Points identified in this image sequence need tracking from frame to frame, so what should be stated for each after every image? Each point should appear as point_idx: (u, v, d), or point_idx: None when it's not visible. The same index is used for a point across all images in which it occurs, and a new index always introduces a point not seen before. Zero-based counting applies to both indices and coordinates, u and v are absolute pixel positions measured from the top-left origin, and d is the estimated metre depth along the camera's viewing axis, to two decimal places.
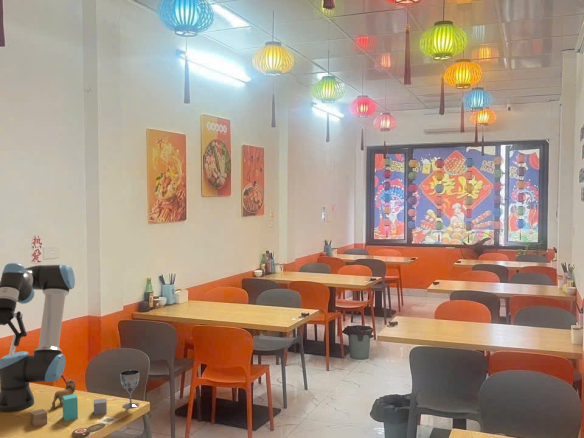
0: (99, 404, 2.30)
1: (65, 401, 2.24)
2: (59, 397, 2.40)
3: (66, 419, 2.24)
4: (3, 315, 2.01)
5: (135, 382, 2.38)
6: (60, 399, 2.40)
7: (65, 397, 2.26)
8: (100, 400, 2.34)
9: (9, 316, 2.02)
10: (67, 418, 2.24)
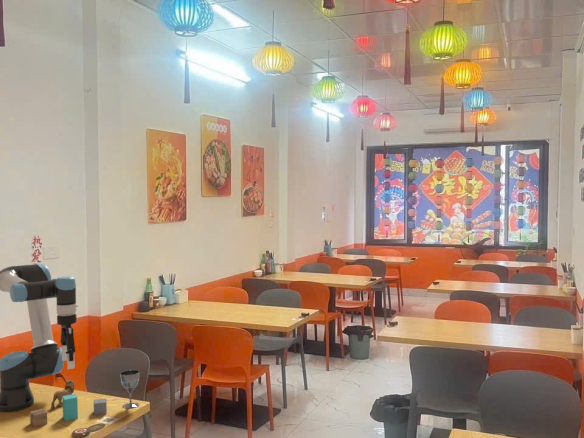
0: (99, 404, 2.30)
1: (65, 401, 2.24)
2: (58, 397, 2.39)
3: (66, 419, 2.24)
4: None
5: (135, 382, 2.38)
6: (59, 399, 2.40)
7: (65, 397, 2.26)
8: (100, 400, 2.34)
9: None
10: (67, 418, 2.24)
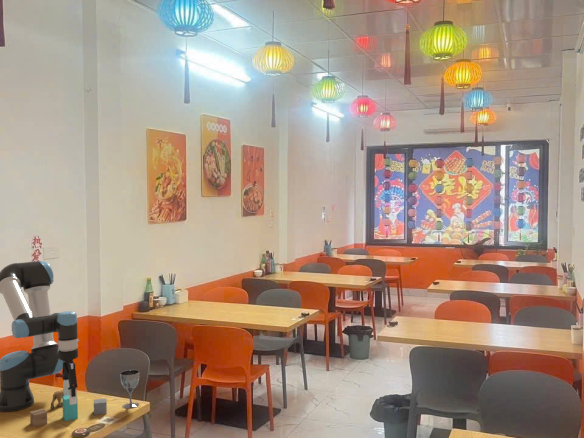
0: (99, 404, 2.30)
1: (65, 401, 2.24)
2: (58, 398, 2.39)
3: (66, 419, 2.24)
4: None
5: (135, 382, 2.38)
6: (59, 400, 2.39)
7: (65, 397, 2.26)
8: (100, 400, 2.34)
9: None
10: (67, 418, 2.24)
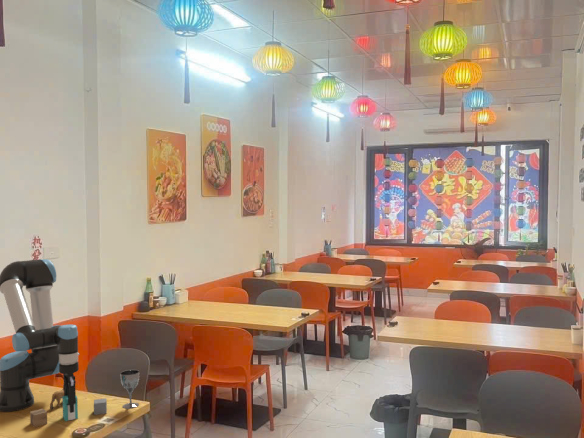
0: (99, 404, 2.30)
1: (65, 401, 2.24)
2: (57, 398, 2.39)
3: (66, 419, 2.24)
4: None
5: (135, 382, 2.38)
6: (58, 400, 2.39)
7: (65, 397, 2.26)
8: (100, 400, 2.34)
9: None
10: (67, 418, 2.24)
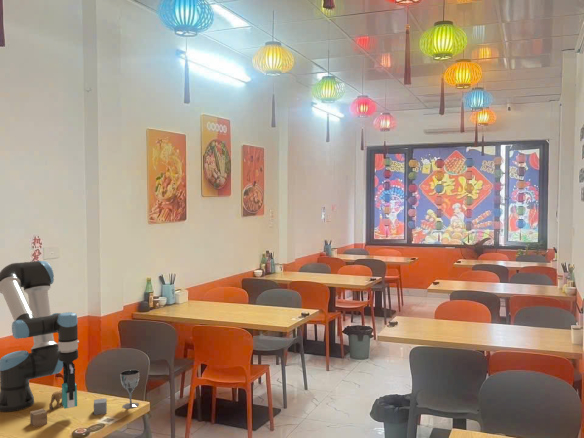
0: (99, 404, 2.30)
1: (64, 389, 2.24)
2: (56, 398, 2.38)
3: (65, 407, 2.24)
4: None
5: (135, 382, 2.38)
6: (57, 400, 2.39)
7: (64, 385, 2.26)
8: (100, 400, 2.34)
9: None
10: (66, 405, 2.24)
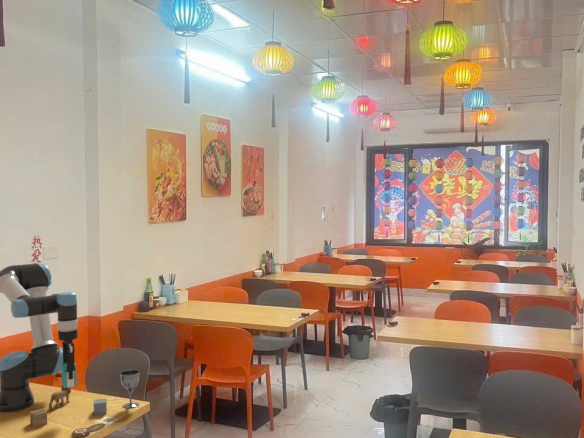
0: (99, 404, 2.30)
1: (64, 368, 2.24)
2: (56, 399, 2.38)
3: (65, 386, 2.24)
4: None
5: (135, 382, 2.38)
6: (57, 401, 2.38)
7: (64, 364, 2.26)
8: (100, 400, 2.34)
9: None
10: (65, 385, 2.24)
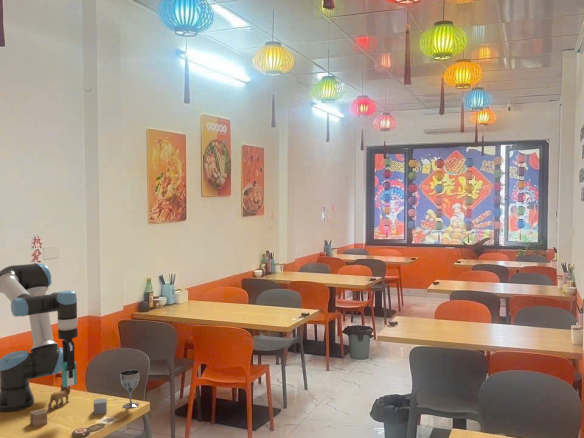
0: (99, 404, 2.30)
1: (64, 367, 2.23)
2: (55, 399, 2.38)
3: (65, 385, 2.24)
4: None
5: (135, 382, 2.38)
6: (56, 401, 2.38)
7: (64, 363, 2.26)
8: (100, 400, 2.34)
9: None
10: (65, 383, 2.24)
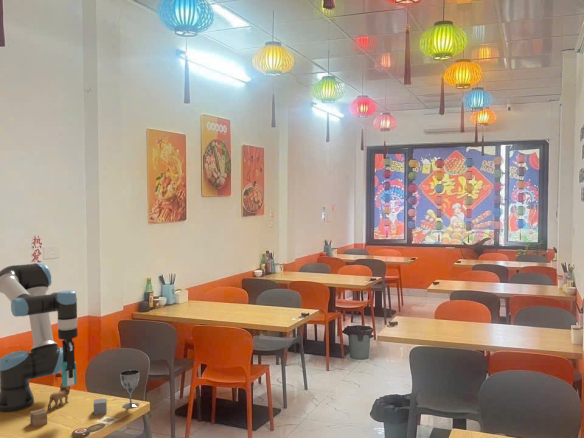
0: (99, 404, 2.30)
1: (64, 367, 2.23)
2: (55, 399, 2.37)
3: (65, 385, 2.24)
4: None
5: (135, 382, 2.38)
6: (56, 401, 2.38)
7: (64, 363, 2.26)
8: (100, 400, 2.34)
9: None
10: (65, 383, 2.24)
